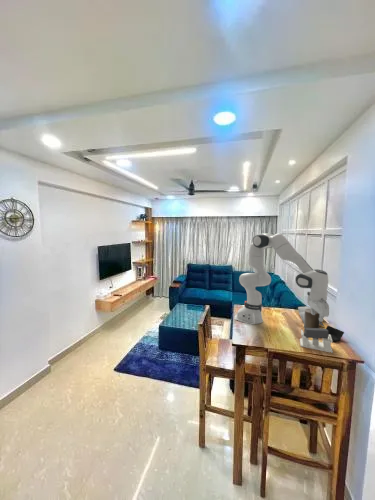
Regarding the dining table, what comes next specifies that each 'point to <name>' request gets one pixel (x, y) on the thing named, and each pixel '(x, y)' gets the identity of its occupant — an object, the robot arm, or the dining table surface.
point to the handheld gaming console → (334, 333)
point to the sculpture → (302, 313)
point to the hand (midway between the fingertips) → (316, 317)
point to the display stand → (316, 343)
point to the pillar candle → (311, 319)
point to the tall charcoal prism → (315, 333)
